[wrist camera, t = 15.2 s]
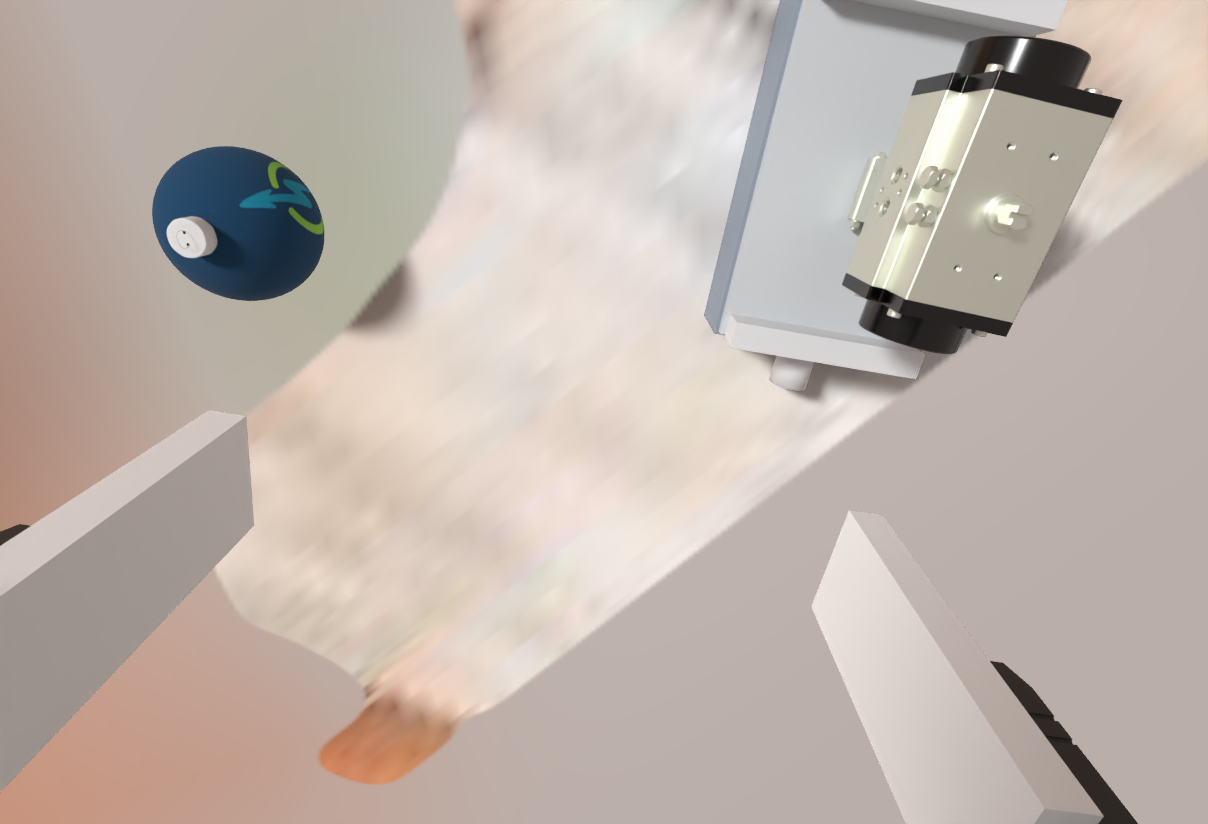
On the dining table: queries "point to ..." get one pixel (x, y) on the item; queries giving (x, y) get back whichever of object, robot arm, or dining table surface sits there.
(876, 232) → the pneumatic valve
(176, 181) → the christmas ornament
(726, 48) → the dining table surface
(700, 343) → the dining table surface
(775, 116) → the grey piece
